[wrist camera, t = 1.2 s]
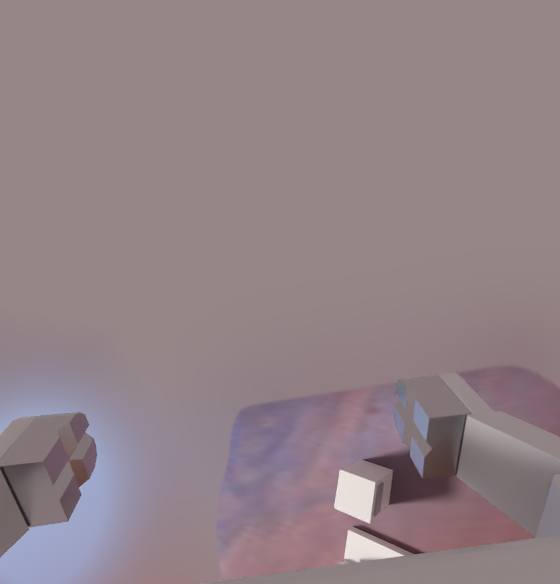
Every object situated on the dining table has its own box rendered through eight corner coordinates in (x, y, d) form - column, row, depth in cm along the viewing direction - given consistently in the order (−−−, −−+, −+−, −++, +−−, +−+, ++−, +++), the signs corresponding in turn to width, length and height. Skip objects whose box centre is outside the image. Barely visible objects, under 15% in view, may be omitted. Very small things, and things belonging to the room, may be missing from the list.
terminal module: (394, 470, 43) (377, 483, 36) (390, 505, 42) (371, 524, 36) (362, 459, 45) (340, 469, 39) (357, 492, 45) (334, 508, 38)
